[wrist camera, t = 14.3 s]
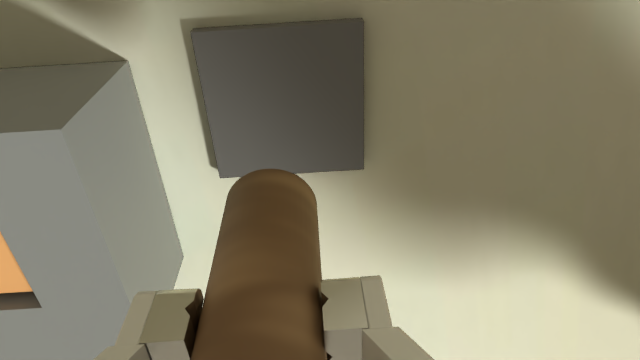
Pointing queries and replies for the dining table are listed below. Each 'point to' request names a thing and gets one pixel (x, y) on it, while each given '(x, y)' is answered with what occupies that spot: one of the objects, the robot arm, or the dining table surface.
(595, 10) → the dining table surface
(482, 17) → the dining table surface
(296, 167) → the pad
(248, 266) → the peg
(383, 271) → the dining table surface
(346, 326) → the robot arm
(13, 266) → the peach orange cube
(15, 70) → the box
